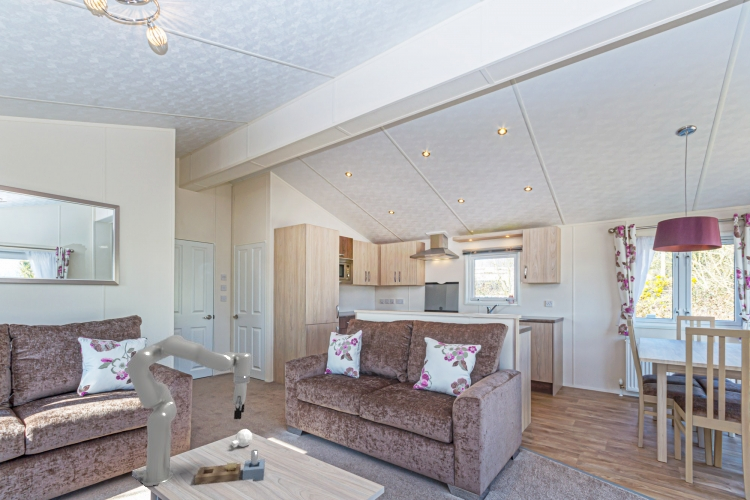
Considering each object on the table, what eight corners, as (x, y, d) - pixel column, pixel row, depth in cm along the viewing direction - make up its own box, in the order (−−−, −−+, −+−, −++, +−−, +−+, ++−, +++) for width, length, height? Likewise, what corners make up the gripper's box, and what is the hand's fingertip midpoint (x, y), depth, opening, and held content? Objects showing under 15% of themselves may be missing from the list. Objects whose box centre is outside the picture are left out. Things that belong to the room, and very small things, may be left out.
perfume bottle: (243, 437, 221) (226, 447, 210) (246, 423, 219) (229, 432, 209) (254, 444, 217) (237, 455, 206) (257, 430, 215) (240, 440, 205)
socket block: (194, 487, 170) (195, 477, 170) (199, 476, 179) (199, 467, 180) (237, 482, 174) (238, 473, 174) (240, 472, 183) (240, 463, 184)
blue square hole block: (242, 482, 174) (242, 470, 174) (244, 471, 184) (245, 460, 184) (263, 480, 176) (263, 468, 176) (264, 469, 186) (264, 459, 186)
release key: (225, 478, 175) (226, 466, 176) (226, 474, 179) (227, 463, 179) (235, 476, 176) (236, 465, 177) (236, 473, 180) (237, 462, 180)
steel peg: (250, 475, 178) (250, 452, 179) (251, 472, 181) (251, 450, 182) (257, 474, 179) (257, 451, 180) (257, 471, 182) (258, 449, 183)
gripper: (236, 375, 196) (233, 410, 194) (230, 383, 179) (227, 421, 177) (251, 375, 197) (249, 409, 196) (247, 383, 180) (244, 421, 179)
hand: (239, 415), depth 186 cm, fingers open, 9 cm apart
